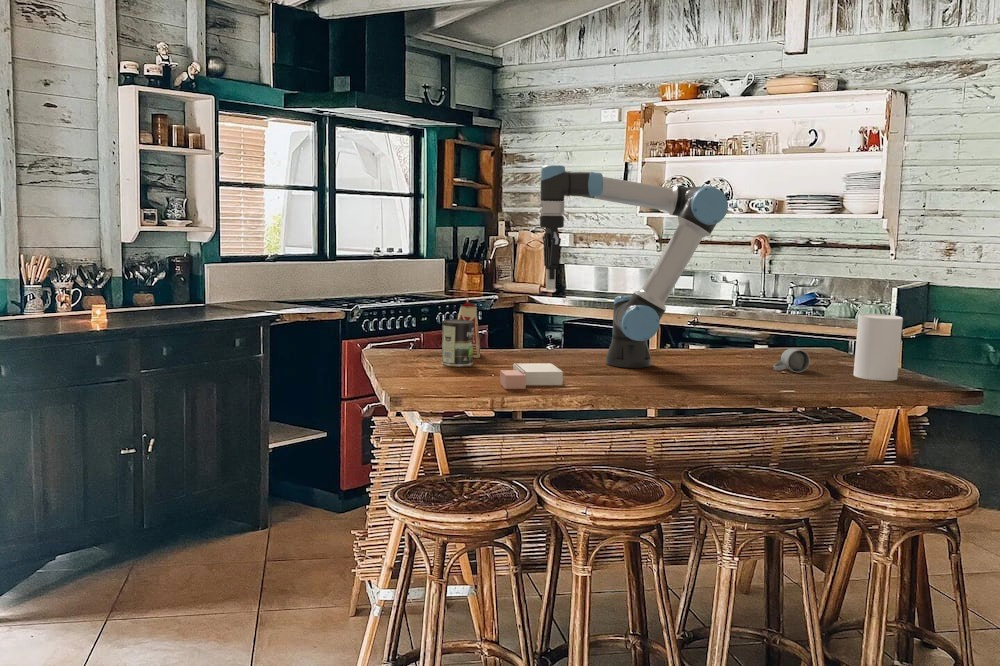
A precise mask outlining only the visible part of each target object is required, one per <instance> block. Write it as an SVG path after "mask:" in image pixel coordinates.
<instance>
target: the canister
mask: <svg viewBox="0 0 1000 666" xmlns="http://www.w3.org/2000/svg"><path fill="white" fill-rule="evenodd" d="M903 322H904V318H903V317H901V316H899V315H892V314H881V313H859V314H858V318H857V329H856V340H855V353H854V361H853V362H854V365H853V377H855V378H859V379H864V380H871V381H881V382H884V381H887V382H888V381H891V382H892V381H897V380H898V375H899V365H900V364H899V363H900V354H901V342H902V332H903Z"/></svg>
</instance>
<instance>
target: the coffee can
mask: <svg viewBox="0 0 1000 666" xmlns="http://www.w3.org/2000/svg"><path fill="white" fill-rule="evenodd" d="M441 322H442V335H441V336H442V339H441V340H442V341H441V342H442V347H441V348H442V349H441V364H442V365H444V366H449V367H470V366H473V364H474V362H473V360H474V359H473V327H474V322H473V321H470V320H458V318H457V319H445V320H442V321H441Z"/></svg>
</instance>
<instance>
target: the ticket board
mask: <svg viewBox="0 0 1000 666" xmlns="http://www.w3.org/2000/svg"><path fill="white" fill-rule="evenodd" d="M512 367H513V368H512V370H520V371H522V372H523V373H524V374H525V375H526V386H563V382H564V381H563V378H564V371H562V370H561V369H560V368H558V366H555V365H554V364H553V363H551V362H550V363H549V362H548V363H543V362H542V363H540V362H539V363H531V362H530V363H529V362H528V363H517V362H515V363H513V365H512Z"/></svg>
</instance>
